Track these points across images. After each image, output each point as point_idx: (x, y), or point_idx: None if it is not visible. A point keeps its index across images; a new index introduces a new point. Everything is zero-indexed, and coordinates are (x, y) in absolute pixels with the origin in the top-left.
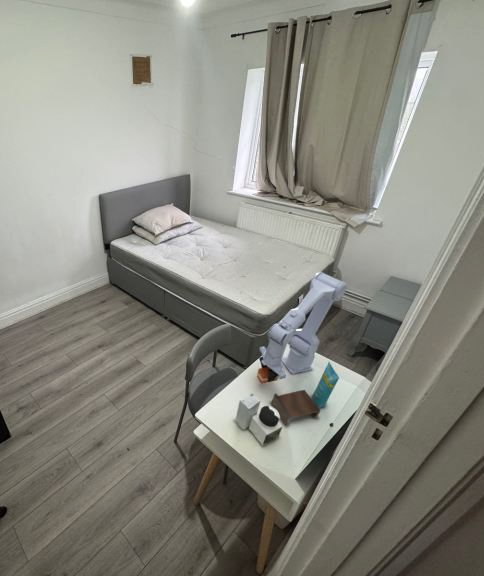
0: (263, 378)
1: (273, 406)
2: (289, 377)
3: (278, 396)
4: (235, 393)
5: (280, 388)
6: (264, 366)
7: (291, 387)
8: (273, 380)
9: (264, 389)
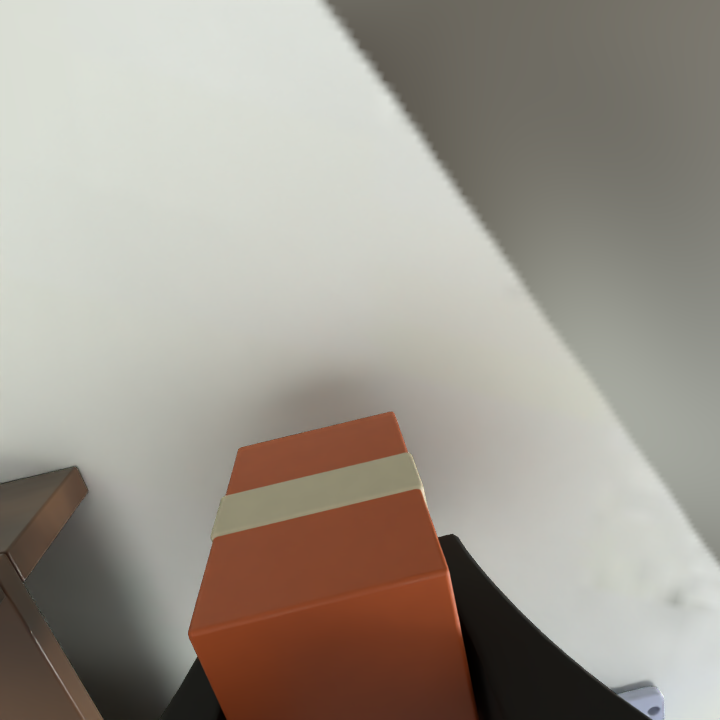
0: (213, 563)
1: (20, 484)
2: None
3: (4, 631)
4: (188, 4)
5: None
6: (493, 717)
7: None
8: None
9: None
